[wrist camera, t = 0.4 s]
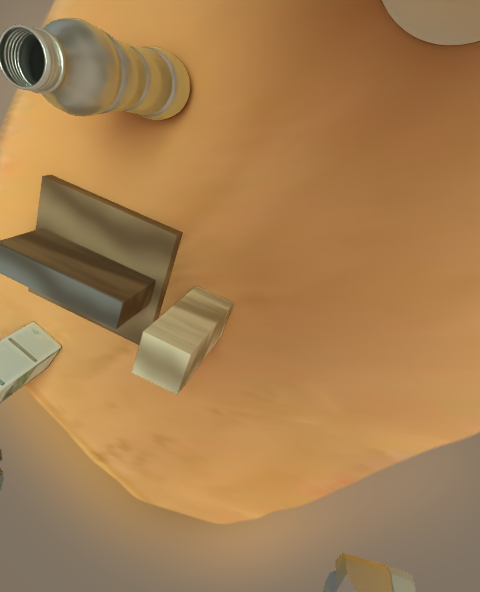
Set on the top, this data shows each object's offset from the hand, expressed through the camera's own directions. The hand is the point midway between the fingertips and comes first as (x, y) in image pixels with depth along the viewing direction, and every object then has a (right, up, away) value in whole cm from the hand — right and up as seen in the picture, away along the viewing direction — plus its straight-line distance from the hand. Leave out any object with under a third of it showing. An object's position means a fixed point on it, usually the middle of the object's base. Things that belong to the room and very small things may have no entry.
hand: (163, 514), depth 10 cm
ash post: (-2, +3, +42) cm, 42 cm away
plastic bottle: (-6, +27, +34) cm, 44 cm away
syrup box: (-27, -2, +52) cm, 59 cm away
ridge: (-16, +9, +44) cm, 48 cm away
